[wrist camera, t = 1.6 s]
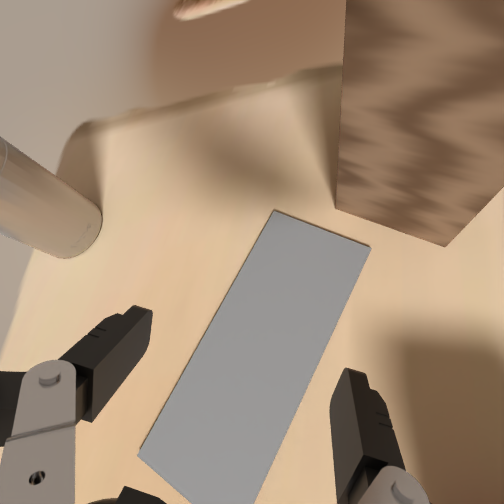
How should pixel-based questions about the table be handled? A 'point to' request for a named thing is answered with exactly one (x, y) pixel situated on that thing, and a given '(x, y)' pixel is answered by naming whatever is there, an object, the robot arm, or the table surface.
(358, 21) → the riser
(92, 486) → the table surface
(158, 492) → the table surface
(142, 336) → the robot arm
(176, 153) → the table surface
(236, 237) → the table surface
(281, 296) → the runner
